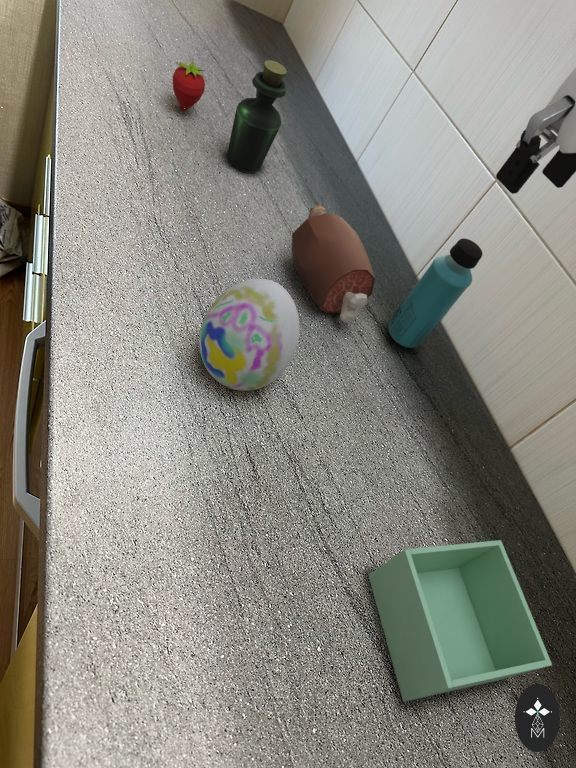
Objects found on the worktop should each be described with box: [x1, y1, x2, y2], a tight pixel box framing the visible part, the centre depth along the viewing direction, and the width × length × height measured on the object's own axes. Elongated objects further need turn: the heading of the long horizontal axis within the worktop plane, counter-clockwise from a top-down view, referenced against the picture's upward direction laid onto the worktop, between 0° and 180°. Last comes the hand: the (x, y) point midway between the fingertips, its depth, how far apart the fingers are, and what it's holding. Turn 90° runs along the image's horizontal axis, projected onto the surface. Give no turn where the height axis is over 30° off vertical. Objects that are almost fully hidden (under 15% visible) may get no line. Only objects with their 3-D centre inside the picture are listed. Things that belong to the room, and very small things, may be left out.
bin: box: [367, 539, 553, 703], centre depth 62 cm, size 13×13×8 cm
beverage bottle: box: [387, 238, 483, 349], centre depth 85 cm, size 6×7×20 cm
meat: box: [291, 204, 376, 324], centre depth 89 cm, size 20×12×10 cm, turn 21°
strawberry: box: [171, 56, 206, 112], centre depth 105 cm, size 6×8×10 cm
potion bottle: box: [226, 59, 288, 174], centre depth 99 cm, size 8×8×18 cm
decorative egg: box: [198, 278, 301, 392], centre depth 72 cm, size 12×12×15 cm
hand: (529, 182), depth 67 cm, fingers open, 9 cm apart
